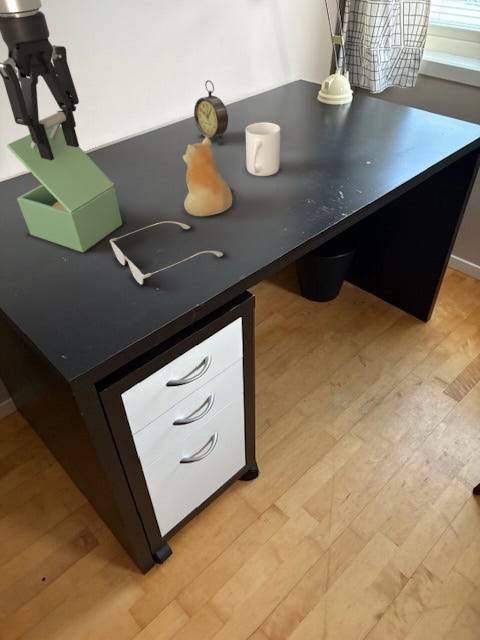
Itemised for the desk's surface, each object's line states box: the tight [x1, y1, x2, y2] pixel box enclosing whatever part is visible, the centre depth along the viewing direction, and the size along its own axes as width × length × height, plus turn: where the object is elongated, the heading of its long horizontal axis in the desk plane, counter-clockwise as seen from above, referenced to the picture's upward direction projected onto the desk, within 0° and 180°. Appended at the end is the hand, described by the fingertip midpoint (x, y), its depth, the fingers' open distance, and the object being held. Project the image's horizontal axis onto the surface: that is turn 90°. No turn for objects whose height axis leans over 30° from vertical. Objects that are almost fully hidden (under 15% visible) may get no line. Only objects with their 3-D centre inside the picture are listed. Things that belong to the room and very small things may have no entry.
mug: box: [245, 122, 281, 177], centre depth 120 cm, size 9×12×11 cm
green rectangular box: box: [16, 183, 123, 253], centre depth 103 cm, size 16×13×9 cm
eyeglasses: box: [109, 220, 224, 285], centre depth 95 cm, size 15×18×4 cm
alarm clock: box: [193, 79, 229, 145], centre depth 136 cm, size 11×5×16 cm, turn 42°
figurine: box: [182, 137, 233, 217], centre depth 107 cm, size 12×13×15 cm
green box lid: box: [6, 110, 115, 214], centre depth 92 cm, size 17×13×8 cm
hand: (60, 151), depth 93 cm, fingers closed on green box lid, 6 cm apart
